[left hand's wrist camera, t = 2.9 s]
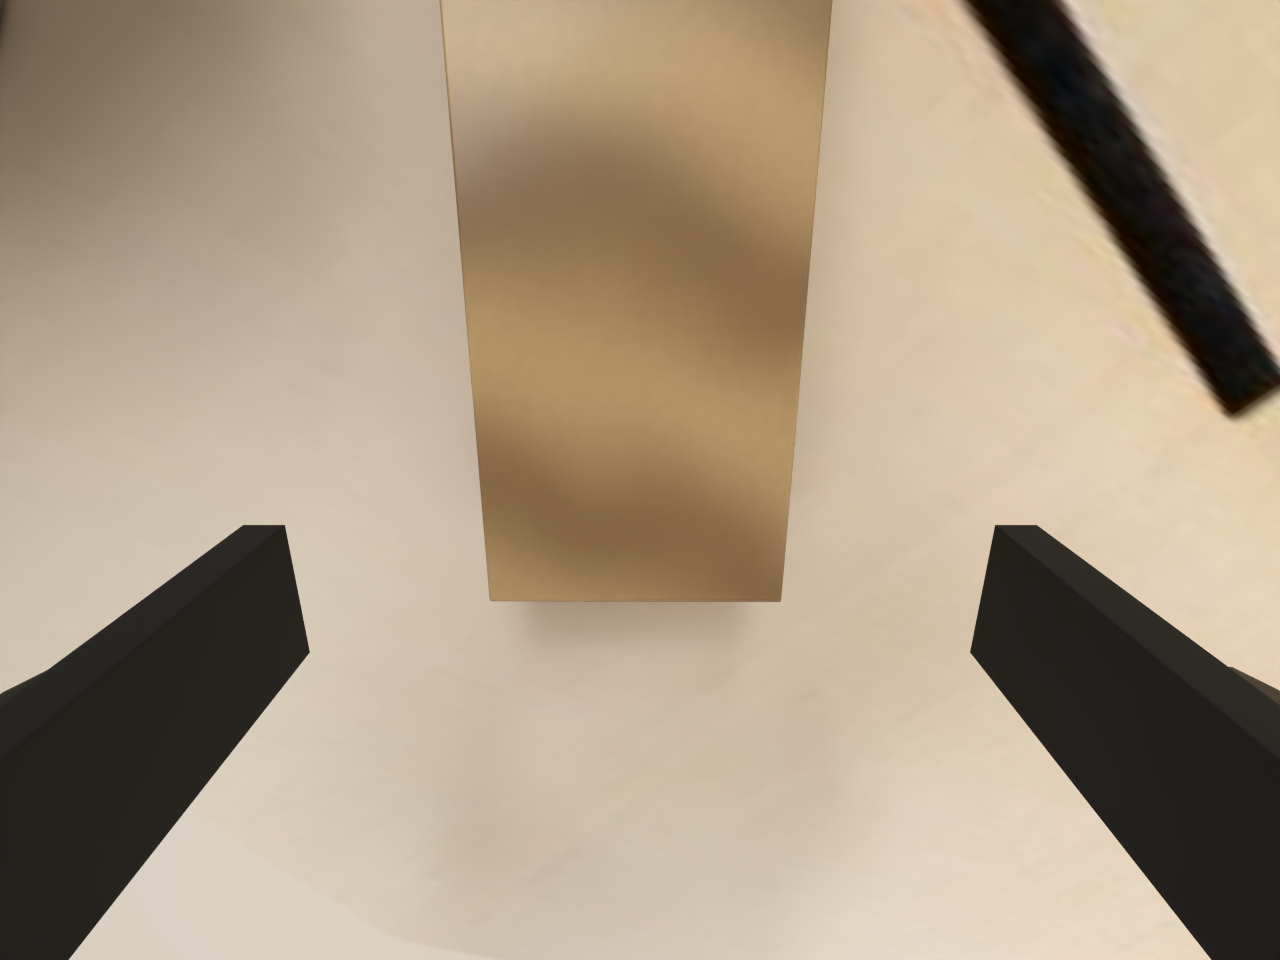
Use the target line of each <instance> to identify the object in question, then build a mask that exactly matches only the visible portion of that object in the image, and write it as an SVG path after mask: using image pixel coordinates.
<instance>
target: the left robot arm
mask: <svg viewBox="0 0 1280 960" xmlns="http://www.w3.org/2000/svg"><path fill="white" fill-rule="evenodd" d="M1 5H2V0H0V14H1ZM309 653H310V651H309V646H308V641H307V636H306V631H305V626H304V621H303V615H302V610H301V605H300V600H299V595H298V590H297V585H296V580H295V575H294V570H293V565H292V559H291V554H290V549H289V544H288V539H287V534H286V529H285V525H243V526H242V527H240V528H239V529H238V530H236V531H235V532H233V533H232V534H231V535H229V536H228V537H227V538H225V539H224V540H223V541H221V542H220V543H219V544H217V545H216V546H215V547H213V548H212V549H211V550H209V551H208V552H206V553H205V554H204V555H202V556H201V557H200V558H198V559H197V560H196V561H194V562H193V563H192V564H190V565H189V566H188V567H186V568H185V569H183V570H182V571H181V572H179V573H178V574H177V575H175V576H174V577H173V578H171V579H170V580H169V581H167V582H166V583H165V584H163V585H162V586H161V587H159V588H158V589H156V590H155V591H154V592H152V593H151V594H150V595H148V596H147V597H146V598H144V599H143V600H142V601H140V602H139V603H138V604H136V605H135V606H134V607H132V608H131V609H129V610H128V611H127V612H125V613H124V614H123V615H121V616H120V617H119V618H117V619H116V620H115V621H113V622H112V623H111V624H109V625H108V626H107V627H105V628H104V629H102V630H101V631H100V632H98V633H97V634H96V635H94V636H93V637H92V638H90V639H89V640H88V641H86V642H85V643H84V644H82V645H81V646H80V647H78V648H77V649H75V650H74V651H73V652H71V653H70V654H69V655H67V656H66V657H65V658H63V659H62V660H61V661H59V662H58V663H57V664H55V665H54V666H52V667H51V668H50V669H48V670H47V671H45V672H43V673H41V674H39V675H37V676H35V677H33V678H31V679H29V680H27V681H25V682H23V683H21V684H19V685H17V686H15V687H13V688H11V689H9V690H7V691H5V692H3V693H1V694H0V960H69V958H70V957H71V956H72V955H73V953H74V952H75V951H76V949H77V948H78V947H79V946H80V944H81V943H82V942H83V941H84V939H85V938H86V937H87V935H88V934H89V933H90V932H91V930H92V929H93V928H94V927H95V925H96V924H97V923H98V921H99V920H100V919H101V918H102V916H103V915H104V914H105V913H106V911H107V910H108V909H109V907H110V906H111V905H112V904H113V902H114V901H115V900H116V899H117V897H118V896H119V895H120V893H121V892H122V891H123V890H124V888H125V887H126V886H127V885H128V883H129V882H130V881H131V879H132V878H133V877H134V876H135V874H136V873H137V872H138V871H139V869H140V868H141V867H142V865H143V864H144V863H145V862H146V860H147V859H148V858H149V857H150V855H151V854H152V853H153V851H154V850H155V849H156V847H157V846H158V845H159V844H160V842H161V841H162V840H163V839H164V837H165V836H166V835H167V833H168V832H169V831H170V830H171V828H172V827H173V826H174V825H175V823H176V822H177V821H178V819H179V818H180V817H181V816H182V814H183V813H184V812H185V811H186V809H187V808H188V807H189V806H190V804H191V803H192V802H193V800H194V799H195V798H196V797H197V795H198V794H199V793H200V792H201V790H202V789H203V788H204V786H205V785H206V784H207V783H208V781H209V780H210V779H211V778H212V776H213V775H214V774H215V772H216V771H217V770H218V769H219V767H220V766H221V765H222V763H223V762H224V761H225V760H226V758H227V757H228V756H229V755H230V753H231V752H232V751H233V749H234V748H235V747H236V746H237V744H238V743H239V742H240V741H241V739H242V738H243V737H244V735H245V734H246V733H247V732H248V730H249V729H250V728H251V727H252V725H253V724H254V723H255V721H256V720H257V719H258V718H259V716H260V715H261V714H262V713H263V711H264V710H265V709H266V707H267V706H268V705H269V704H270V702H271V701H272V700H273V698H274V697H275V696H276V695H277V693H278V692H279V691H280V690H281V688H282V687H283V686H284V684H285V683H286V682H287V681H288V679H289V678H290V677H291V676H292V674H293V673H294V672H295V670H296V669H297V668H298V667H299V665H300V664H301V663H302V662H303V660H304V659H305V658H306V656H307V655H308V654H309ZM970 653H971V654H972V655H973V656H974V658H975V659H976V660H977V662H978V663H979V664H980V665H981V667H982V668H983V669H984V670H985V672H986V673H987V674H988V676H989V677H990V678H991V679H992V681H993V682H994V683H995V684H996V686H997V687H998V688H999V690H1000V691H1001V692H1002V693H1003V695H1004V696H1005V697H1006V698H1007V700H1008V701H1009V702H1010V704H1011V705H1012V706H1013V707H1014V709H1015V710H1016V711H1017V713H1018V714H1019V715H1020V716H1021V718H1022V719H1023V720H1024V721H1025V723H1026V724H1027V725H1028V727H1029V728H1030V729H1031V730H1032V732H1033V733H1034V734H1035V735H1036V737H1037V738H1038V739H1039V741H1040V742H1041V743H1042V744H1043V746H1044V747H1045V748H1046V749H1047V751H1048V752H1049V753H1050V755H1051V756H1052V757H1053V758H1054V760H1055V761H1056V762H1057V763H1058V765H1059V766H1060V767H1061V769H1062V770H1063V771H1064V772H1065V774H1066V775H1067V776H1068V778H1069V779H1070V780H1071V781H1072V783H1073V784H1074V785H1075V786H1076V788H1077V789H1078V790H1079V792H1080V793H1081V794H1082V795H1083V797H1084V798H1085V799H1086V800H1087V802H1088V803H1089V804H1090V806H1091V807H1092V808H1093V809H1094V811H1095V812H1096V813H1097V814H1098V816H1099V817H1100V818H1101V820H1102V821H1103V822H1104V823H1105V825H1106V826H1107V827H1108V828H1109V830H1110V831H1111V832H1112V834H1113V835H1114V836H1115V837H1116V839H1117V840H1118V841H1119V842H1120V844H1121V845H1122V846H1123V848H1124V849H1125V850H1126V851H1127V853H1128V854H1129V855H1130V857H1131V858H1132V859H1133V860H1134V862H1135V863H1136V864H1137V865H1138V867H1139V868H1140V869H1141V871H1142V872H1143V873H1144V874H1145V876H1146V877H1147V878H1148V879H1149V881H1150V882H1151V883H1152V885H1153V886H1154V887H1155V888H1156V890H1157V891H1158V892H1159V893H1160V895H1161V896H1162V897H1163V899H1164V900H1165V901H1166V902H1167V904H1168V905H1169V906H1170V907H1171V909H1172V910H1173V911H1174V913H1175V914H1176V915H1177V916H1178V918H1179V919H1180V920H1181V921H1182V923H1183V924H1184V925H1185V927H1186V928H1187V929H1188V930H1189V932H1190V933H1191V934H1192V936H1193V937H1194V938H1195V939H1196V941H1197V942H1198V943H1199V944H1200V946H1201V947H1202V948H1203V950H1204V951H1205V952H1206V953H1207V955H1208V956H1209V957H1210V958H1211V960H1280V691H1279V690H1277V689H1275V688H1273V687H1271V686H1269V685H1267V684H1265V683H1263V682H1261V681H1259V680H1257V679H1255V678H1253V677H1251V676H1249V675H1247V674H1245V673H1243V672H1241V671H1239V670H1237V669H1235V668H1233V667H1228V666H1226V665H1225V664H1223V663H1222V662H1221V661H1219V660H1218V659H1217V658H1215V657H1214V656H1213V655H1211V654H1210V653H1209V652H1207V651H1206V650H1205V649H1203V648H1202V647H1200V646H1199V645H1198V644H1196V643H1195V642H1194V641H1192V640H1191V639H1190V638H1188V637H1187V636H1186V635H1184V634H1183V633H1182V632H1180V631H1179V630H1178V629H1176V628H1175V627H1173V626H1172V625H1171V624H1169V623H1168V622H1167V621H1165V620H1164V619H1163V618H1161V617H1160V616H1159V615H1157V614H1156V613H1155V612H1153V611H1152V610H1151V609H1149V608H1148V607H1146V606H1145V605H1144V604H1142V603H1141V602H1140V601H1138V600H1137V599H1136V598H1134V597H1133V596H1132V595H1130V594H1129V593H1128V592H1126V591H1125V590H1124V589H1122V588H1121V587H1119V586H1118V585H1117V584H1115V583H1114V582H1113V581H1111V580H1110V579H1109V578H1107V577H1106V576H1105V575H1103V574H1102V573H1101V572H1099V571H1098V570H1097V569H1095V568H1094V567H1092V566H1091V565H1090V564H1088V563H1087V562H1086V561H1084V560H1083V559H1082V558H1080V557H1079V556H1078V555H1076V554H1075V553H1074V552H1072V551H1071V550H1070V549H1068V548H1067V547H1065V546H1064V545H1063V544H1061V543H1060V542H1059V541H1057V540H1056V539H1055V538H1053V537H1052V536H1051V535H1049V534H1048V533H1047V532H1045V531H1044V530H1042V529H1041V528H1040V527H1038V526H1037V525H995V529H994V534H993V539H992V544H991V549H990V554H989V559H988V565H987V570H986V575H985V580H984V585H983V590H982V595H981V600H980V605H979V610H978V615H977V621H976V626H975V631H974V636H973V641H972V646H971V651H970Z"/></svg>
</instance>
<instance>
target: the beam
mask: <svg viewBox="0 0 1280 960" xmlns="http://www.w3.org/2000/svg"><path fill="white" fill-rule="evenodd" d="M440 10H441V22H442V34H443V46H444V58H445V70H446V82H447V94H448V106H449V118H450V130H451V142H452V154H453V166H454V178H455V190H456V202H457V214H458V226H459V238H460V250H461V262H462V273H463V285H464V297H465V309H466V321H467V333H468V345H469V357H470V369H471V381H472V393H473V405H474V417H475V429H476V441H477V453H478V465H479V477H480V489H481V501H482V513H483V525H484V537H485V549H486V561H487V573H488V585H489V597H490V601H682V602H780V601H781V595H782V583H783V572H784V560H785V548H786V537H787V525H788V513H789V501H790V490H791V478H792V466H793V455H794V443H795V431H796V420H797V408H798V396H799V384H800V373H801V361H802V349H803V338H804V326H805V314H806V303H807V291H808V279H809V267H810V256H811V244H812V232H813V221H814V209H815V197H816V185H817V174H818V162H819V150H820V139H821V127H822V115H823V104H824V92H825V80H826V68H827V57H828V45H829V33H830V22H831V10H832V0H440Z"/></svg>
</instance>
